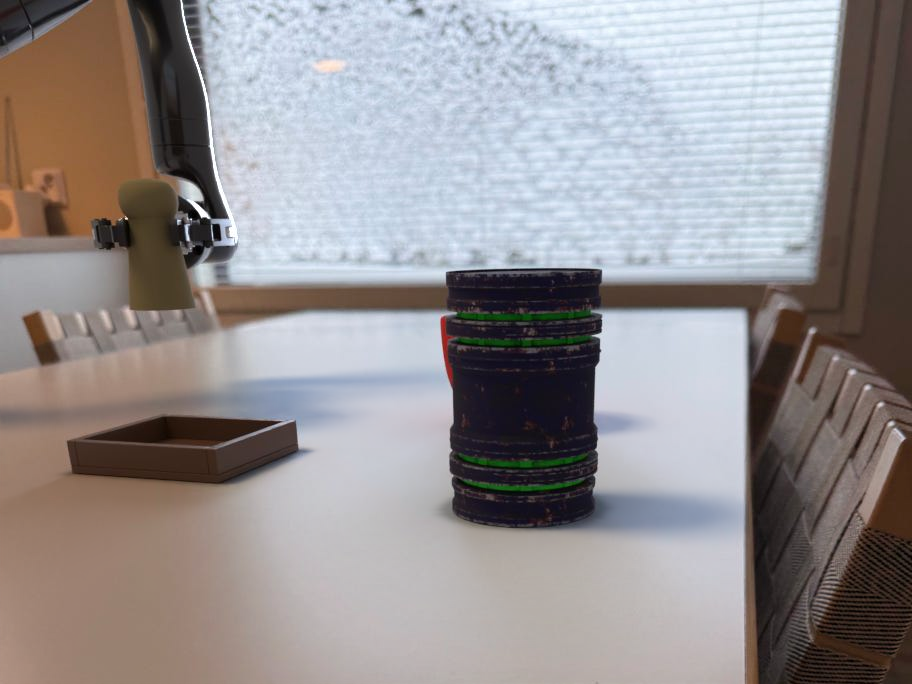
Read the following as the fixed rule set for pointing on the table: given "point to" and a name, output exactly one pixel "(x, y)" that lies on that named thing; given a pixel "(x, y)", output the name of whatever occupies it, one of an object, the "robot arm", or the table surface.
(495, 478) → the storage jar
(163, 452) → the serving tray
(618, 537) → the table surface
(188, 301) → the olive green pepper mill
